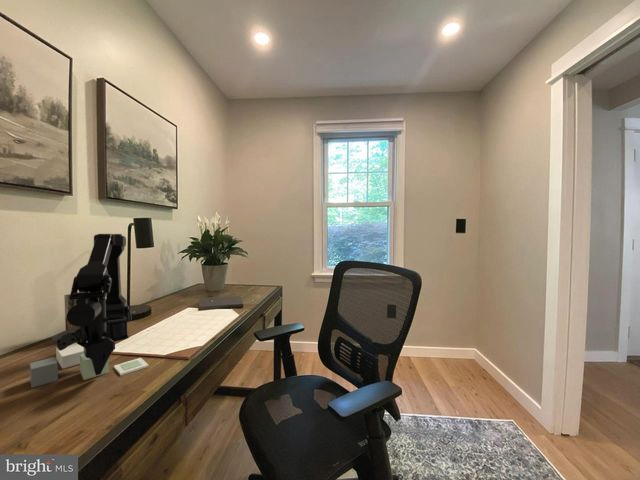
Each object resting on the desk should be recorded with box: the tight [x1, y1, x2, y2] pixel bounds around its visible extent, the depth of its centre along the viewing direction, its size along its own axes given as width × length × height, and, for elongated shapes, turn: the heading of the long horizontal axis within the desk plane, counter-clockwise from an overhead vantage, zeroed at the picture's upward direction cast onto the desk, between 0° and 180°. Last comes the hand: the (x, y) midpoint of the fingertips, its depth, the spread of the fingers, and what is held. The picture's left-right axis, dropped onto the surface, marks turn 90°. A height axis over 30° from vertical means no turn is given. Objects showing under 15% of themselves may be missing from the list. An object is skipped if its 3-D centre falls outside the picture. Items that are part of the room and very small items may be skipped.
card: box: [113, 357, 149, 377], centre depth 84 cm, size 7×7×1 cm
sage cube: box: [79, 354, 110, 381], centre depth 80 cm, size 6×6×6 cm
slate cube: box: [29, 356, 59, 388], centre depth 76 cm, size 5×5×5 cm
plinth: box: [55, 343, 84, 370], centre depth 89 cm, size 10×10×4 cm
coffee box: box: [63, 291, 84, 330], centre depth 108 cm, size 9×6×16 cm
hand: (94, 368), depth 80 cm, fingers open, 9 cm apart
